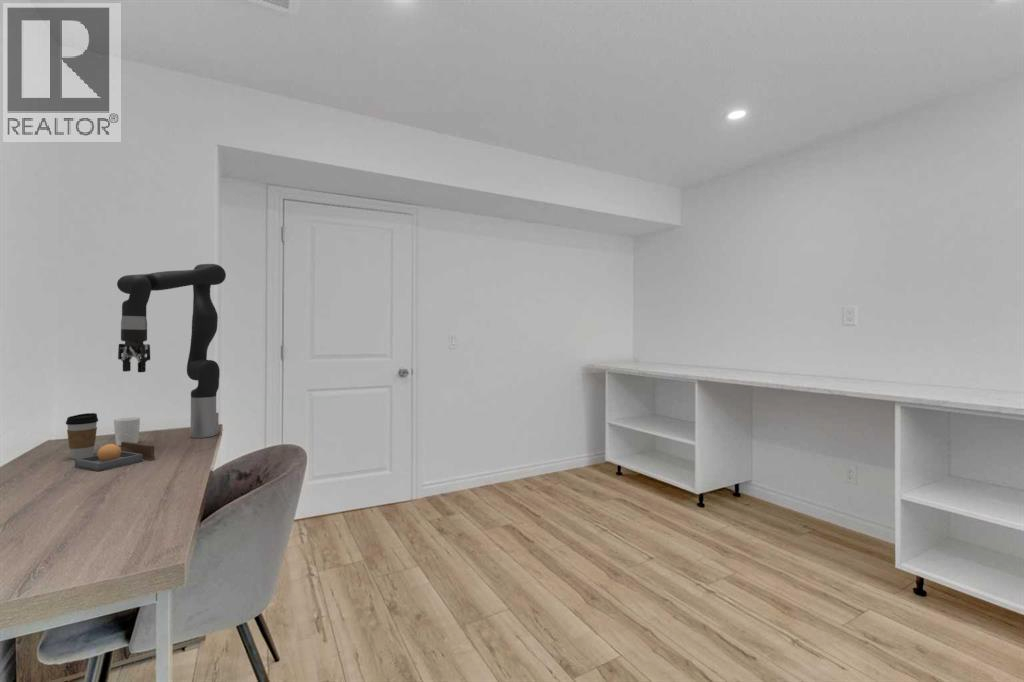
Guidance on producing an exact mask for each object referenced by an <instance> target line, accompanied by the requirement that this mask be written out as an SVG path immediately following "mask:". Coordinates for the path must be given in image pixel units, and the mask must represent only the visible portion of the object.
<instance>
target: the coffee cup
mask: <svg viewBox="0 0 1024 682" xmlns="http://www.w3.org/2000/svg"><path fill="white" fill-rule="evenodd" d="M98 422H99V418H98V414H97V413H96V412H95V413H94V412H91V413H90V412H87V413H79V414H76V415H71V416H68V417H67V419H66V421H65V424H66V426H67V430H66V432H67V440H68V441H67V442H68V447H69V448H68V449H69V455H70V459H72V460H75V459H80V458H85V457H90V456H95V453H94V452H95V446H96V445H95V444H96V438H97V437H96V436H97V432H98V431H97V430H98V429H97V428H98V427H97V423H98Z"/></svg>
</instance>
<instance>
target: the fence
mask: <svg viewBox="0 0 1024 682" xmlns="http://www.w3.org/2000/svg"><path fill="white" fill-rule="evenodd" d="M120 449H121V451H126V452H132V453H139V454H143V456H142V460H144V461H145V460H146V461H155V460H156V459H155V457H156V456H155V452H156V451H155V449H156V448H155V445H154V444H153V445H152V444H147V443H140V442H138V443H133V442H126V441H124V442H121V446H120Z"/></svg>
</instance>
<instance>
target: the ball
mask: <svg viewBox="0 0 1024 682" xmlns="http://www.w3.org/2000/svg"><path fill="white" fill-rule="evenodd" d="M96 455H98V458H99V459H100V460H101V461H103V462H105V461H110V460H115V459H117V458H119V456H120V455H121V446H119V445H116V443H115V444H114V443H108V444H104V445H103V446H101V447H100V448H99V450H98V451H97V454H96Z"/></svg>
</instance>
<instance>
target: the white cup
mask: <svg viewBox="0 0 1024 682" xmlns="http://www.w3.org/2000/svg"><path fill="white" fill-rule="evenodd" d="M113 422H114V425H113V426H114V438H115V445H118V446H119V447H121V442H124V441H126V442H133V443H139V435H140V425H141V423H140V422H141V417H138V416H137V417H136V416H134V417H133V416H132V417H120V418H119V417H118V418H115V419H114V420H113Z"/></svg>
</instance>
